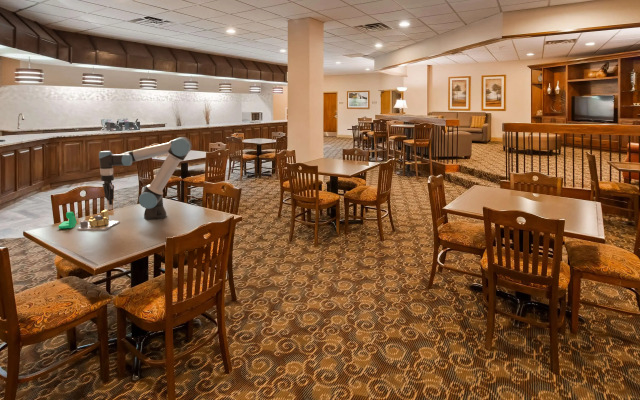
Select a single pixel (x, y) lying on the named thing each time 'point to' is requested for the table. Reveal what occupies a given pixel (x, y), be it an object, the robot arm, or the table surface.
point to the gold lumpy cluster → (100, 222)
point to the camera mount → (69, 223)
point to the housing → (86, 226)
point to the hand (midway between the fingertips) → (110, 209)
